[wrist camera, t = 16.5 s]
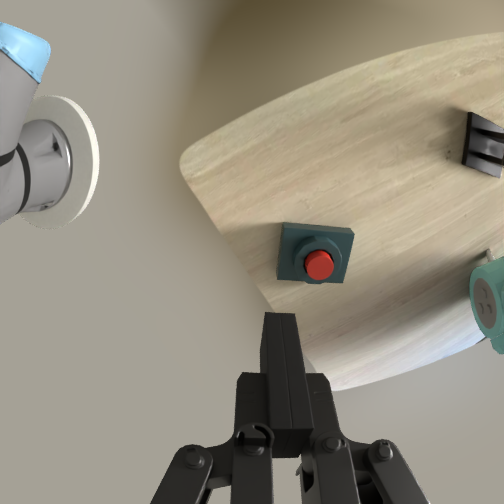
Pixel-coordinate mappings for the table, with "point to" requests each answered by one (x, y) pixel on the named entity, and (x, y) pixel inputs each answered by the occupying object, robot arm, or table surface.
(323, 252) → the button
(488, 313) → the alarm clock
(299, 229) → the button box
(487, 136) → the bracket
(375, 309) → the table surface
